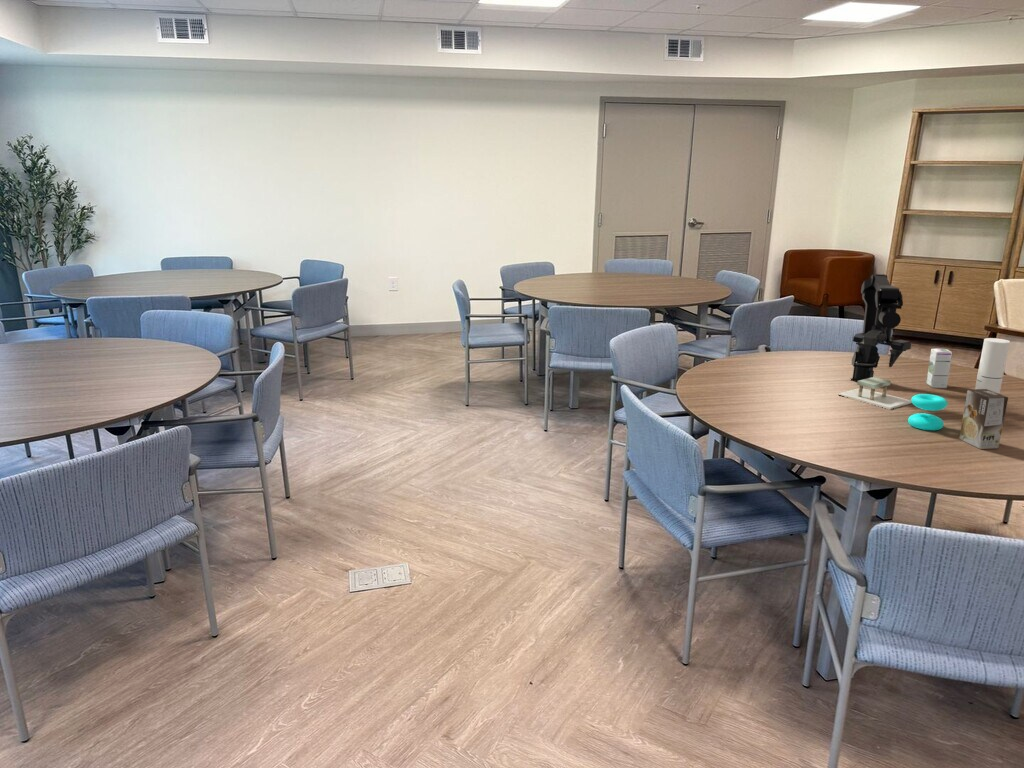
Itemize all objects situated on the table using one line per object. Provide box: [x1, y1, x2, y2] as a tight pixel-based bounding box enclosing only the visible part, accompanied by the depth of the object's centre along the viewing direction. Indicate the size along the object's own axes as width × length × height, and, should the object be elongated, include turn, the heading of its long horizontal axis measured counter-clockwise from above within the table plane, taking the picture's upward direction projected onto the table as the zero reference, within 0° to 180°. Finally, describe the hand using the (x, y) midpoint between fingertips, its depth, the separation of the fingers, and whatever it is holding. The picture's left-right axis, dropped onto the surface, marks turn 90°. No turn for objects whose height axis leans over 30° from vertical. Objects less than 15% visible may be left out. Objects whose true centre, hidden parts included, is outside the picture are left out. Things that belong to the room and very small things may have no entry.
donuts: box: [907, 393, 948, 431], centre depth 218 cm, size 10×10×10 cm
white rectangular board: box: [837, 387, 913, 410], centre depth 248 cm, size 20×14×1 cm
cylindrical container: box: [974, 337, 1011, 394], centre depth 231 cm, size 7×7×25 cm
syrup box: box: [925, 347, 953, 389], centre depth 261 cm, size 6×6×14 cm
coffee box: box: [959, 388, 1009, 450], centre depth 203 cm, size 9×6×16 cm
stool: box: [856, 376, 891, 400], centre depth 248 cm, size 10×6×6 cm, turn 121°
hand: (877, 364), depth 246 cm, fingers open, 9 cm apart
